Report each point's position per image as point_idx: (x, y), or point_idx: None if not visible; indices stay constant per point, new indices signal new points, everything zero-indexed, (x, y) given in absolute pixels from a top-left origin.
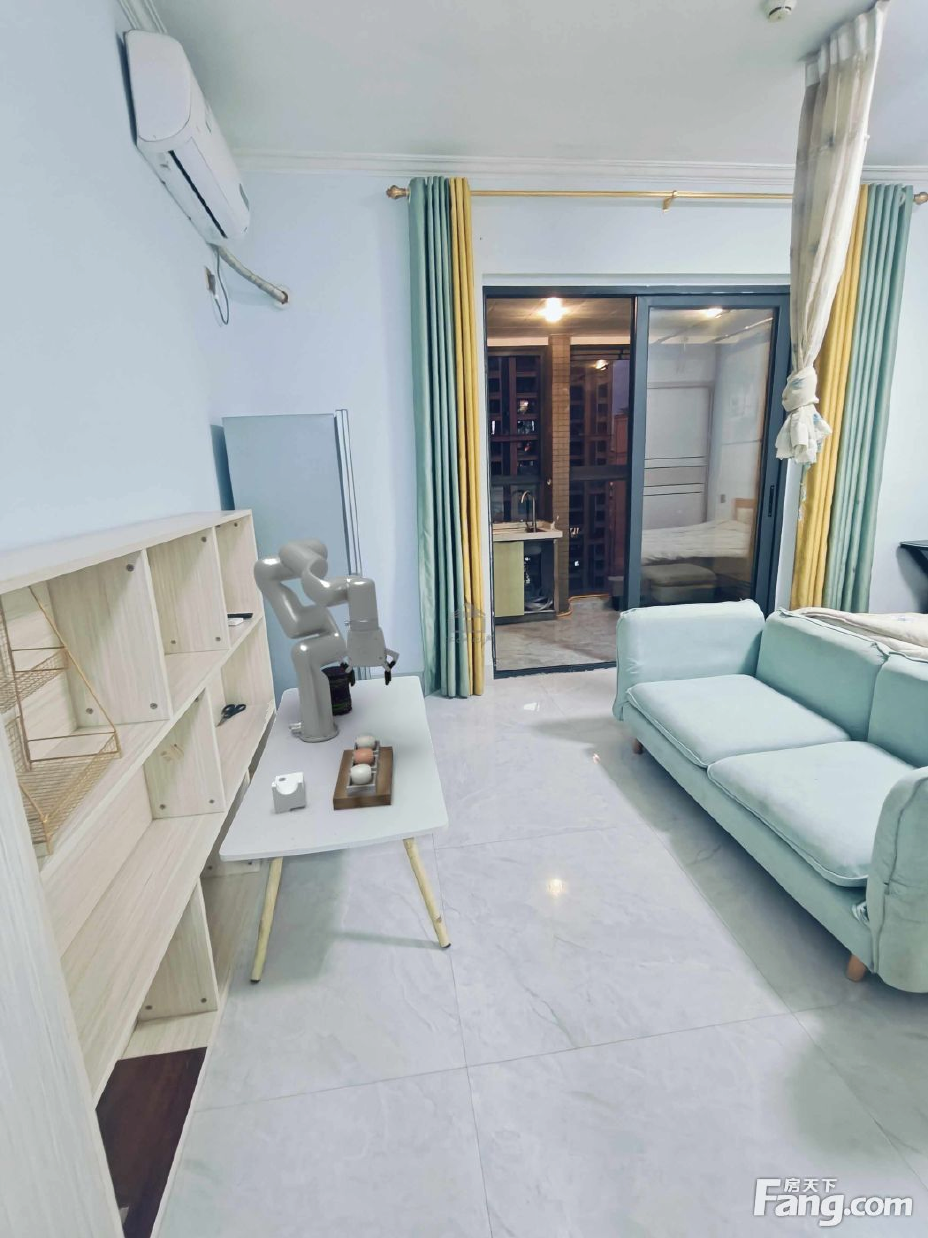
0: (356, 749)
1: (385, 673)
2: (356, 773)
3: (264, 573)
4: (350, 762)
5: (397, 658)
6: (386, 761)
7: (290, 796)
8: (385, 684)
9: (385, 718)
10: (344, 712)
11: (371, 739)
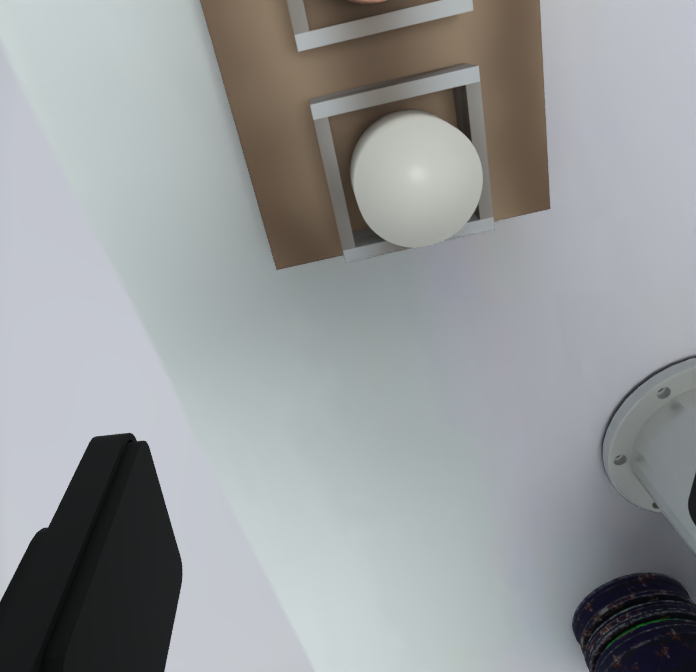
0: None
1: (28, 642)
2: None
3: None
4: (481, 50)
5: None
6: (253, 74)
7: None
8: (138, 443)
9: (411, 573)
10: (601, 597)
11: (366, 150)
